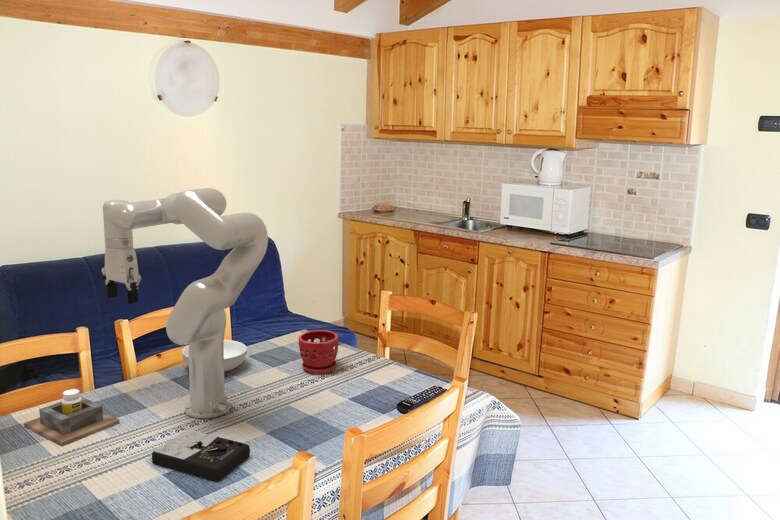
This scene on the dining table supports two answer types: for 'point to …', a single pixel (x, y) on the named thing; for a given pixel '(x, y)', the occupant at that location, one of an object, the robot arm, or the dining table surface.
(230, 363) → the serving bowl
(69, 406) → the supplement bottle
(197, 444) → the multimeter
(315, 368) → the plant pot
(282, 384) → the dining table surface
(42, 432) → the pocket board
